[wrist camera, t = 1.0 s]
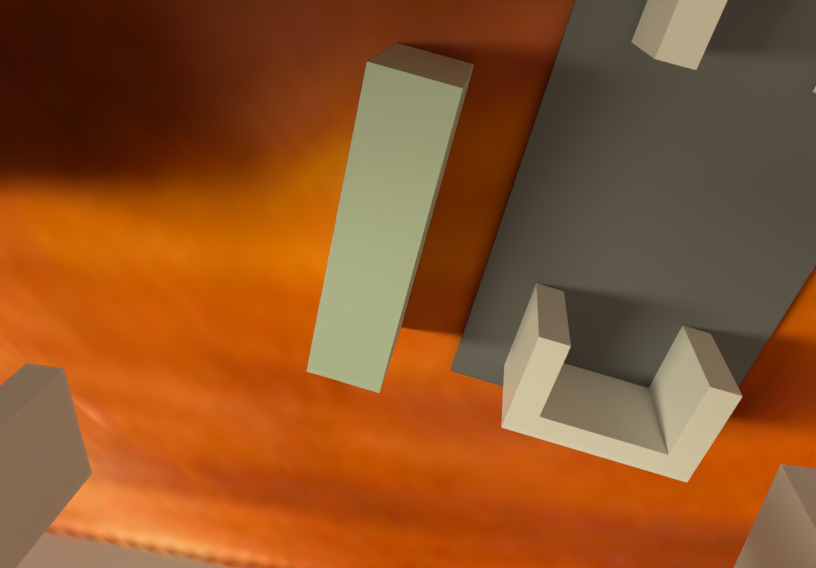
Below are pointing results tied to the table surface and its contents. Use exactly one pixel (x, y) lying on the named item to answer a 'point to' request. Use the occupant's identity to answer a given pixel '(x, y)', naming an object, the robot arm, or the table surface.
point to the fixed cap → (616, 396)
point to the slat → (385, 209)
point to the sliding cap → (678, 30)
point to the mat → (660, 194)
